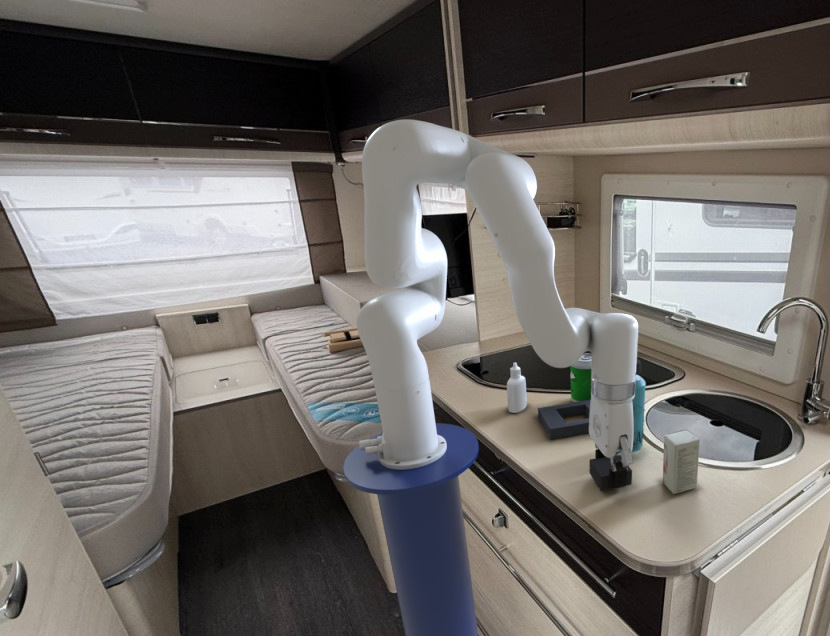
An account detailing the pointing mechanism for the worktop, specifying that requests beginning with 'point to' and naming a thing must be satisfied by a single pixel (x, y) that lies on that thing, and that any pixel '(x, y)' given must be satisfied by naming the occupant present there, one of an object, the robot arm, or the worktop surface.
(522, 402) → the eye dropper bottle
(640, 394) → the beverage bottle
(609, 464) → the black block
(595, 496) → the worktop surface
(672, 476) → the medicine box
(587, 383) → the soda can
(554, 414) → the socket block
